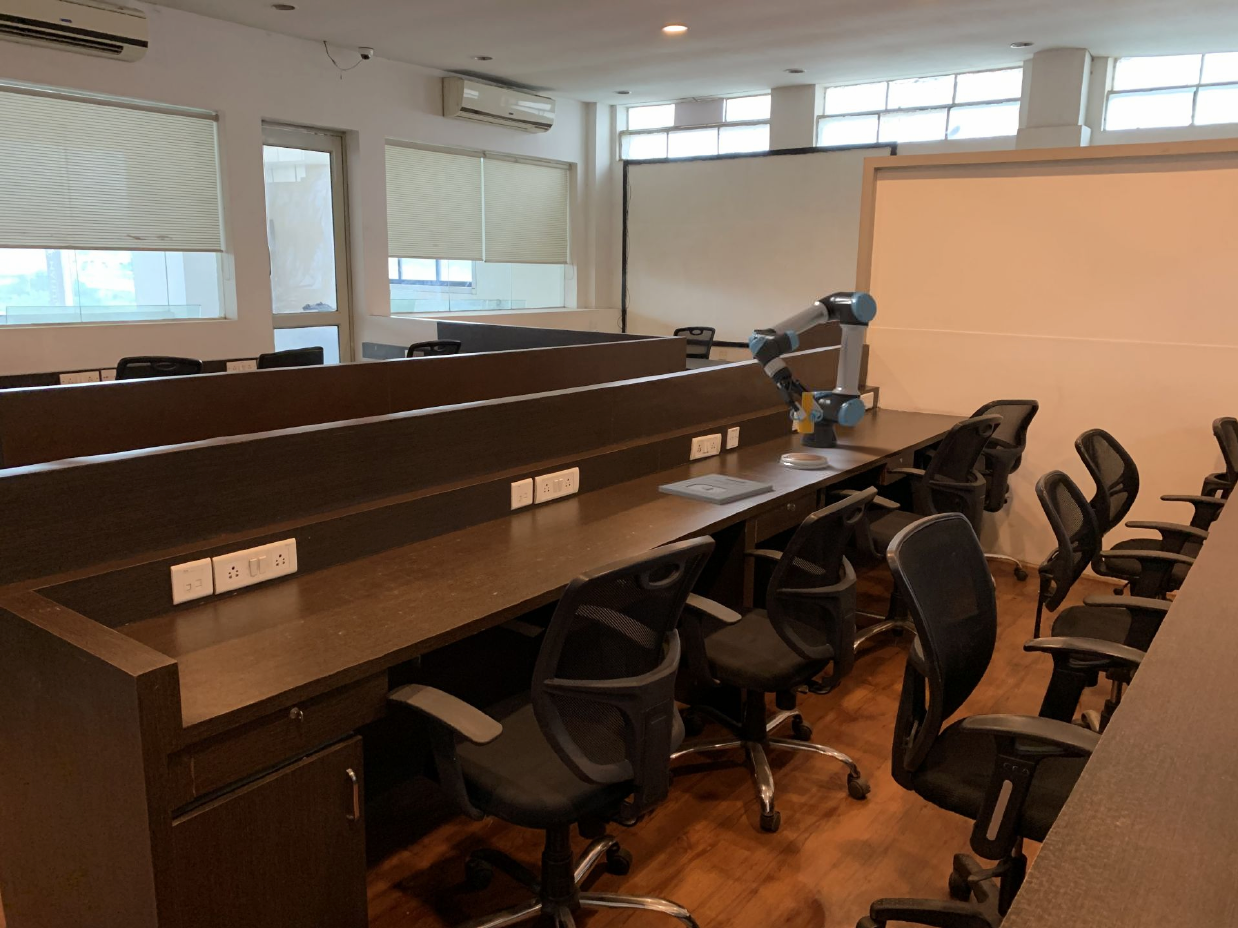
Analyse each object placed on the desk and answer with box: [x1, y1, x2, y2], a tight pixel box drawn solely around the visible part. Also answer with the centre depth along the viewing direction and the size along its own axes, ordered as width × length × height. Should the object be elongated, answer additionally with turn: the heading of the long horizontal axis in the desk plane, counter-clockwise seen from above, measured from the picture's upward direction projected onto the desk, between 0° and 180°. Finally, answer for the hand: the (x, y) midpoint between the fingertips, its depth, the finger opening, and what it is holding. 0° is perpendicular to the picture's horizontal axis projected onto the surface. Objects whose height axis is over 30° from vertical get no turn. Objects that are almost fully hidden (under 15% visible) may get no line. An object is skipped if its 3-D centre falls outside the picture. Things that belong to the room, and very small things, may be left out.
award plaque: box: [658, 473, 774, 505], centre depth 307 cm, size 25×30×2 cm
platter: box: [781, 452, 828, 466], centre depth 351 cm, size 17×17×2 cm
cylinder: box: [789, 391, 823, 434], centre depth 348 cm, size 12×10×15 cm
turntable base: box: [779, 458, 829, 471], centre depth 352 cm, size 18×18×2 cm
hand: (812, 416), depth 346 cm, fingers closed on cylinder, 12 cm apart
